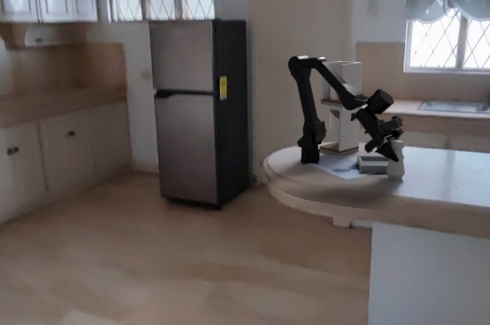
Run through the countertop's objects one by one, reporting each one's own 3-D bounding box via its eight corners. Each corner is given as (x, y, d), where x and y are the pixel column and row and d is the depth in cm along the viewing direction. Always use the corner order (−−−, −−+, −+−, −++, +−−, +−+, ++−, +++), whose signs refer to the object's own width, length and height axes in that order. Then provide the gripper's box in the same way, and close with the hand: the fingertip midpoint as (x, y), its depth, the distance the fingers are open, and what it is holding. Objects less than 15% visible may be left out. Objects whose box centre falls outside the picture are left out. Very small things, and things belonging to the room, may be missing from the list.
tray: (360, 172, 176) (361, 165, 175) (356, 161, 188) (357, 155, 187) (399, 172, 174) (399, 166, 174) (392, 162, 187) (393, 155, 186)
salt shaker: (404, 176, 170) (407, 139, 166) (403, 182, 165) (406, 143, 161) (386, 175, 172) (389, 138, 168) (385, 180, 167) (387, 142, 163)
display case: (338, 146, 211) (341, 60, 201) (358, 151, 203) (362, 62, 193) (319, 151, 204) (321, 62, 194) (339, 156, 196) (343, 64, 186)
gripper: (375, 112, 157) (406, 152, 154) (400, 104, 171) (430, 140, 167) (351, 133, 165) (381, 172, 161) (377, 124, 178) (405, 159, 174)
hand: (400, 160), depth 166 cm, fingers closed on salt shaker, 3 cm apart
